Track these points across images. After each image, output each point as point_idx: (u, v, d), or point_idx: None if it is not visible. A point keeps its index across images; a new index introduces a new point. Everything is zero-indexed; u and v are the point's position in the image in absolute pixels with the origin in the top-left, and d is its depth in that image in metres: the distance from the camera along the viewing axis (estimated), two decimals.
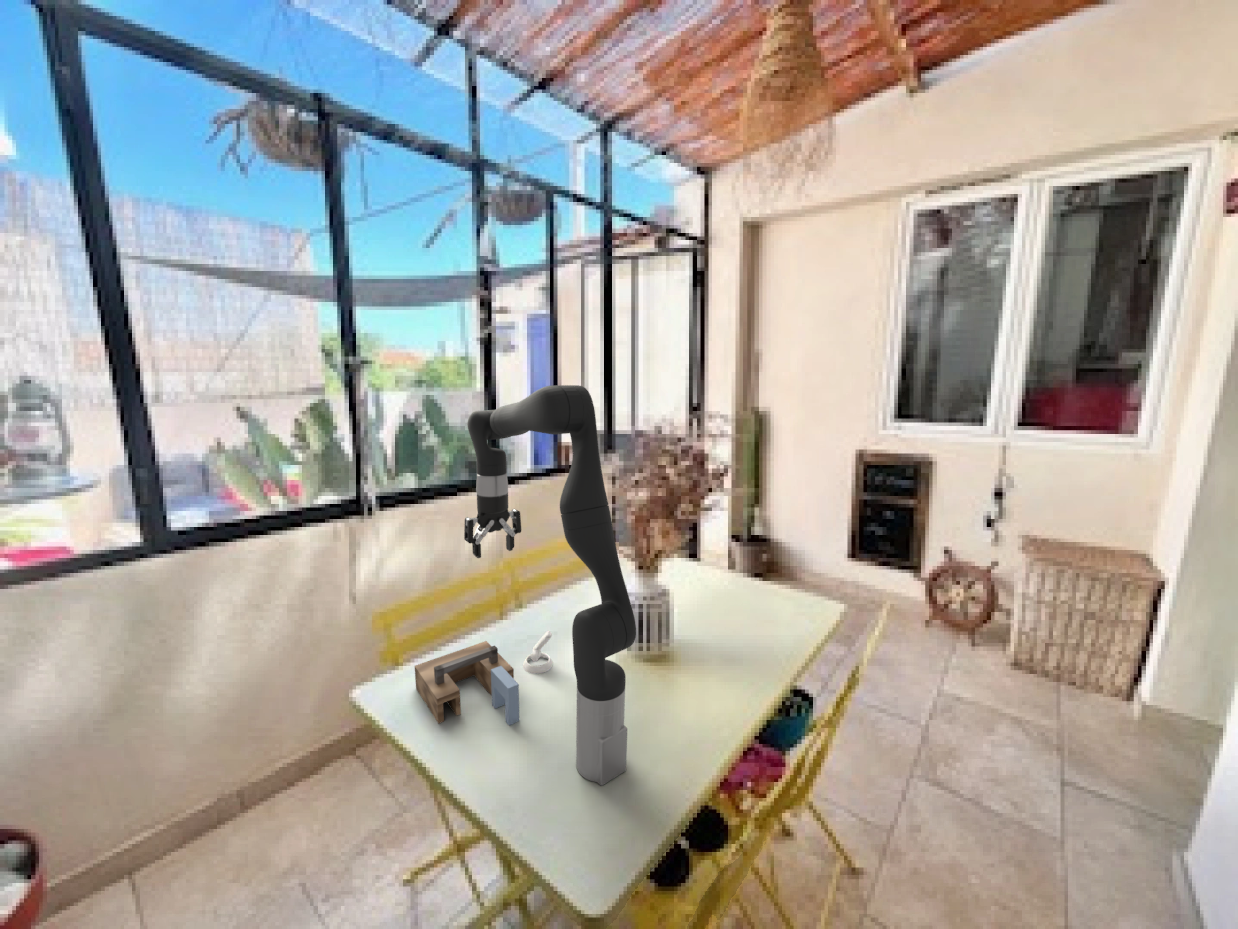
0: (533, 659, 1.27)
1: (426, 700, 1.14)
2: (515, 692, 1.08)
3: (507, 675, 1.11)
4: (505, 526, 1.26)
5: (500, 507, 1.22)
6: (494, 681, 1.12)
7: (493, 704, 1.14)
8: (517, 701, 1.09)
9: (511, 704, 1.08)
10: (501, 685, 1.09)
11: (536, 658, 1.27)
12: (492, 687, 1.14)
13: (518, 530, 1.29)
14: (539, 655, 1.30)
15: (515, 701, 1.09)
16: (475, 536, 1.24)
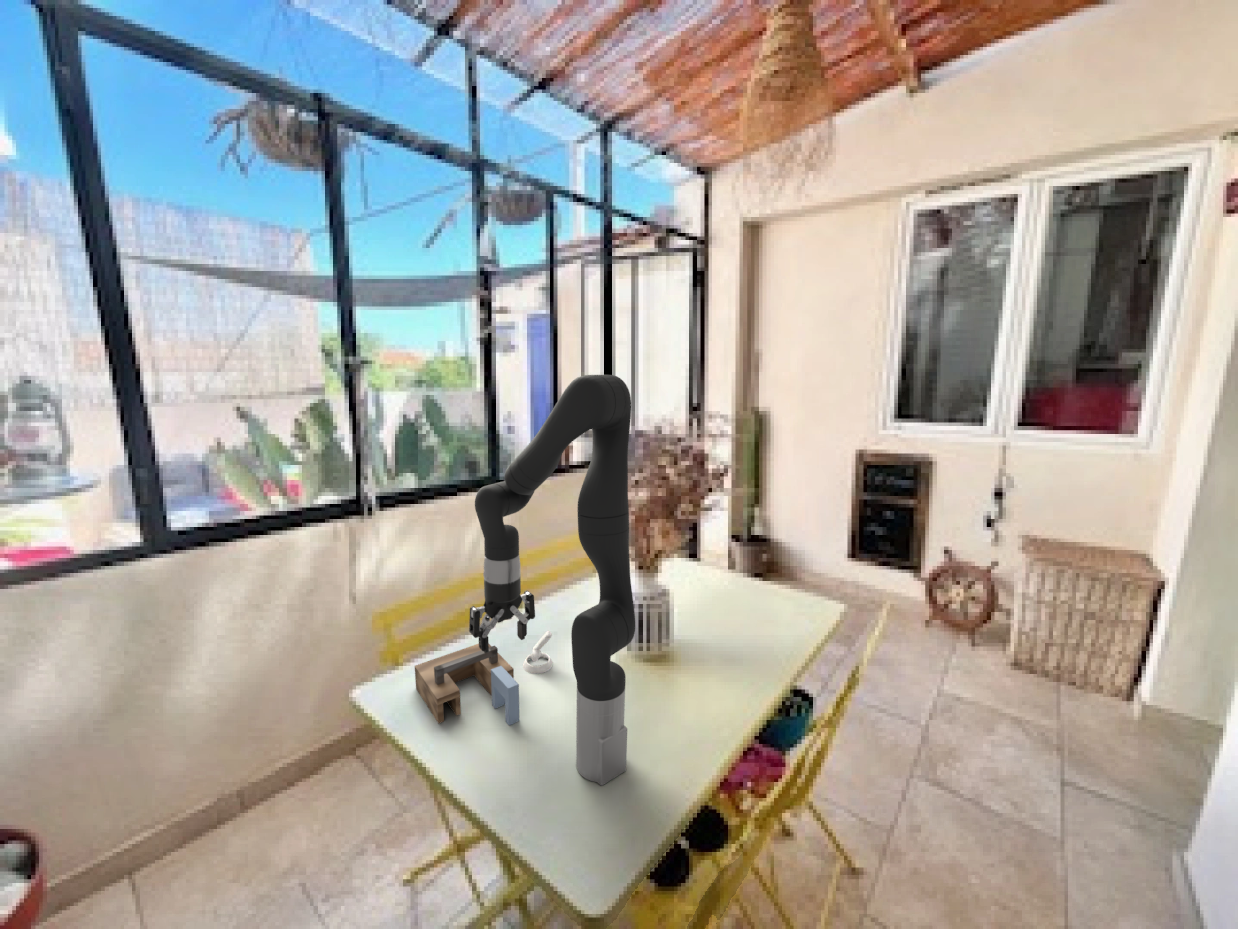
0: (533, 659, 1.27)
1: (426, 700, 1.14)
2: (515, 692, 1.08)
3: (507, 675, 1.11)
4: (517, 614, 1.08)
5: (511, 595, 1.04)
6: (495, 681, 1.12)
7: (493, 704, 1.14)
8: (517, 701, 1.09)
9: (511, 704, 1.08)
10: (501, 685, 1.09)
11: (536, 658, 1.27)
12: (492, 687, 1.14)
13: (531, 616, 1.11)
14: (539, 655, 1.30)
15: (515, 701, 1.09)
16: (482, 627, 1.06)
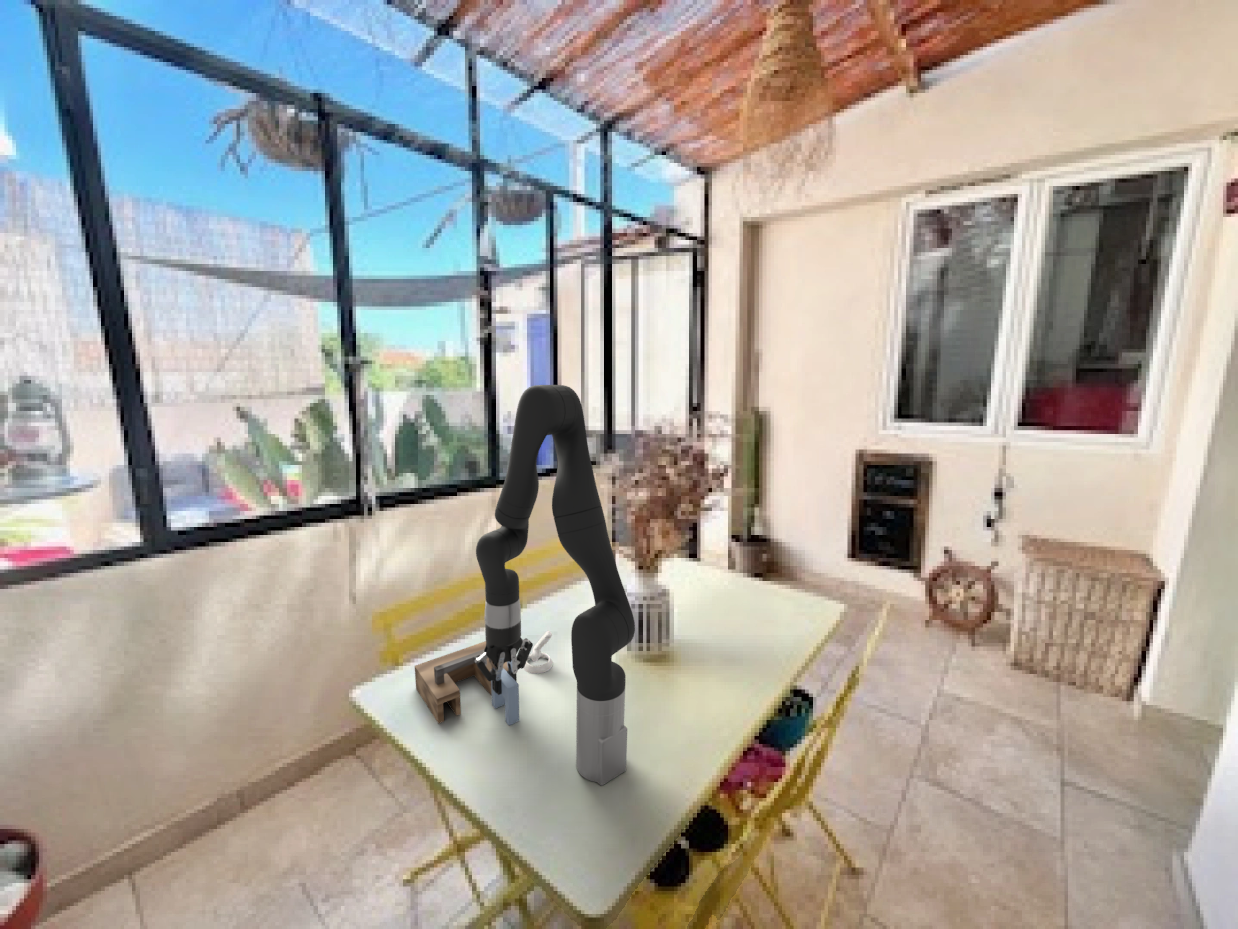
0: (533, 659, 1.27)
1: (426, 700, 1.14)
2: (515, 692, 1.08)
3: (507, 675, 1.11)
4: (513, 659, 1.09)
5: (512, 639, 1.06)
6: None
7: (493, 704, 1.14)
8: (517, 701, 1.09)
9: (511, 704, 1.08)
10: None
11: (536, 658, 1.27)
12: None
13: (521, 665, 1.12)
14: (539, 655, 1.30)
15: (515, 701, 1.09)
16: (493, 670, 1.10)
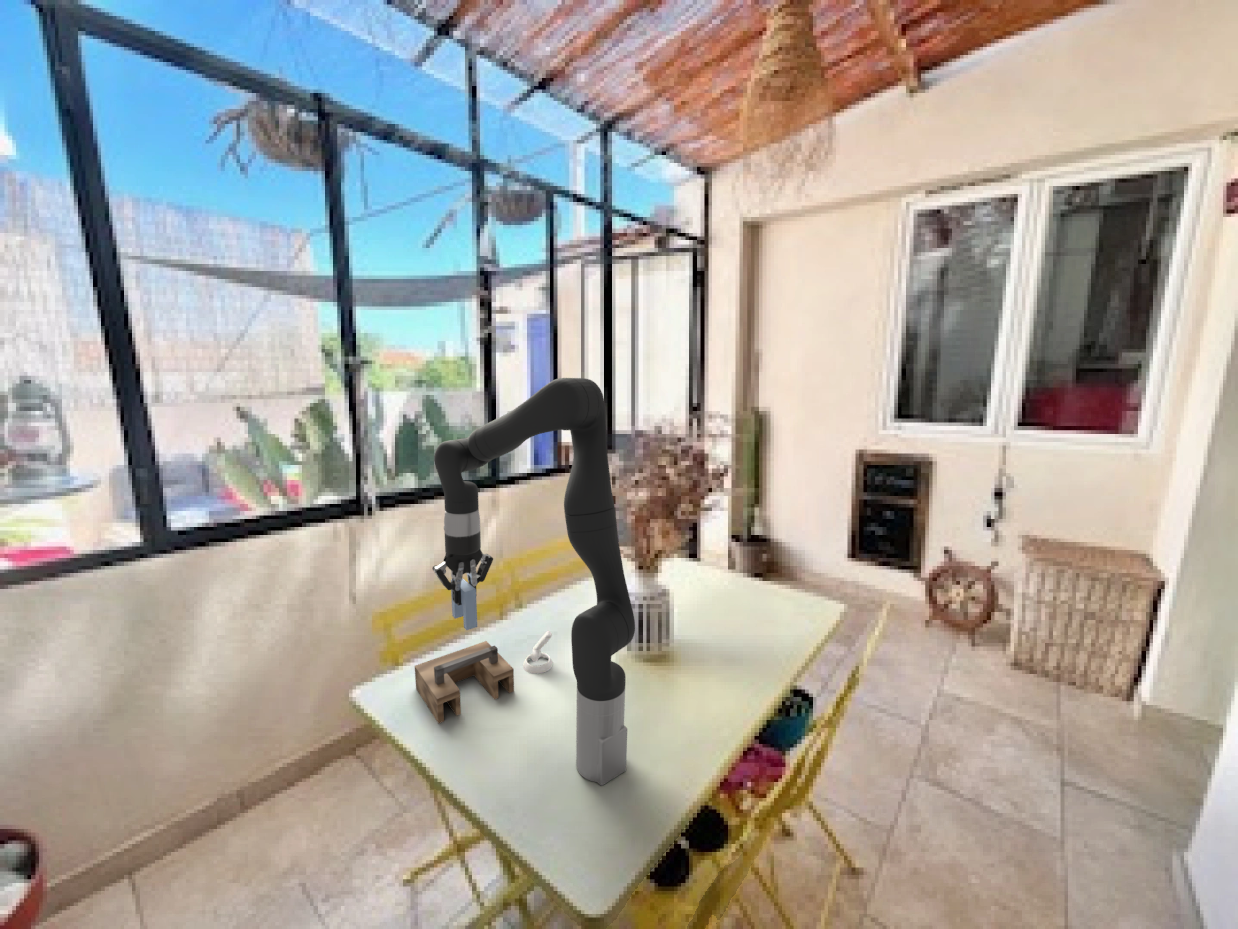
0: (533, 659, 1.27)
1: (426, 700, 1.14)
2: (472, 597, 1.11)
3: (466, 583, 1.14)
4: (472, 570, 1.12)
5: (470, 548, 1.08)
6: None
7: (453, 614, 1.17)
8: (475, 606, 1.12)
9: (468, 609, 1.11)
10: None
11: (536, 658, 1.27)
12: None
13: (481, 578, 1.14)
14: (539, 655, 1.30)
15: (473, 606, 1.11)
16: (453, 581, 1.12)
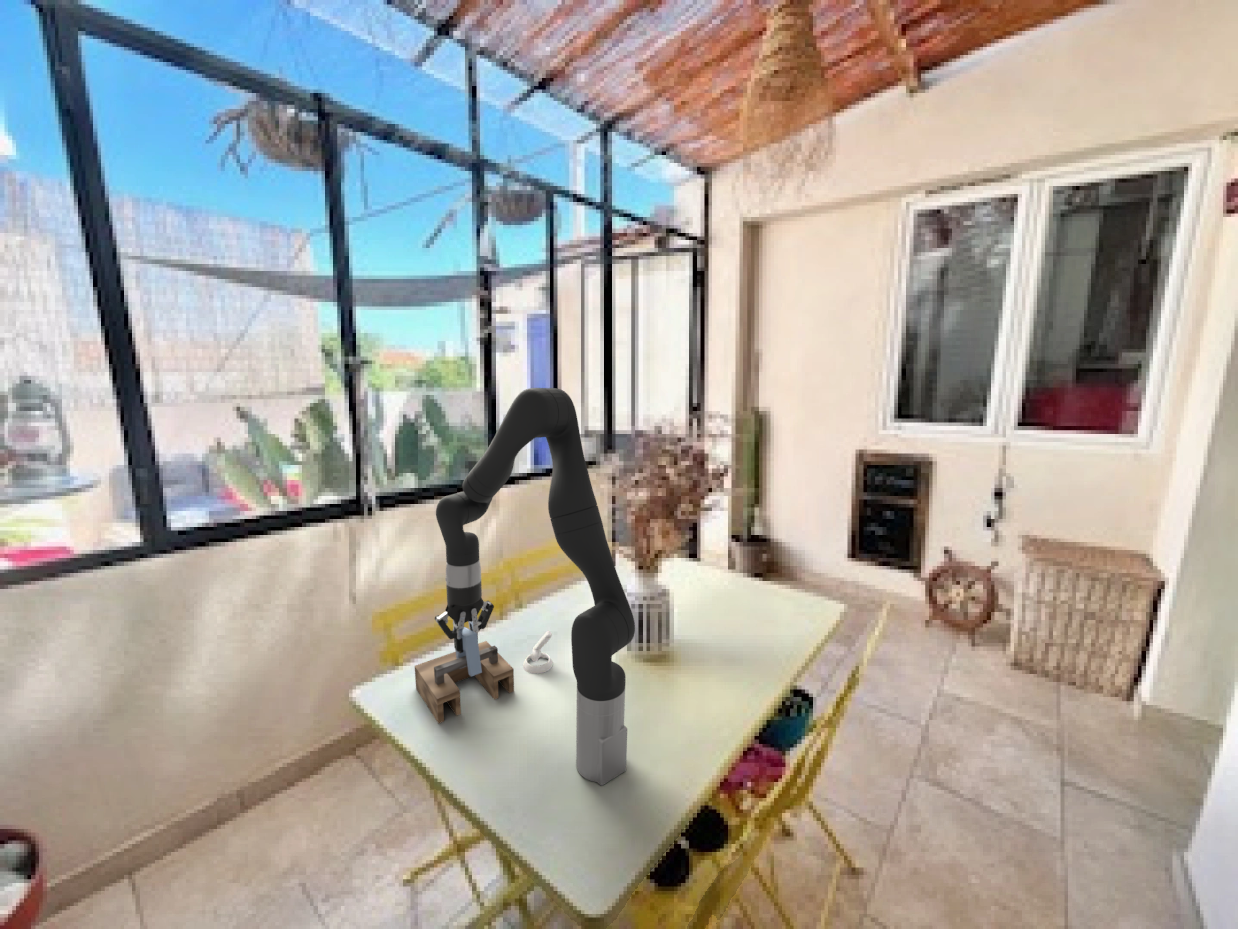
0: (533, 659, 1.27)
1: (426, 700, 1.14)
2: (474, 641, 1.13)
3: (467, 630, 1.16)
4: (474, 619, 1.14)
5: (471, 598, 1.10)
6: None
7: None
8: (477, 651, 1.13)
9: (471, 654, 1.12)
10: None
11: (536, 658, 1.27)
12: None
13: (482, 625, 1.16)
14: (539, 655, 1.30)
15: (475, 651, 1.13)
16: (455, 630, 1.14)
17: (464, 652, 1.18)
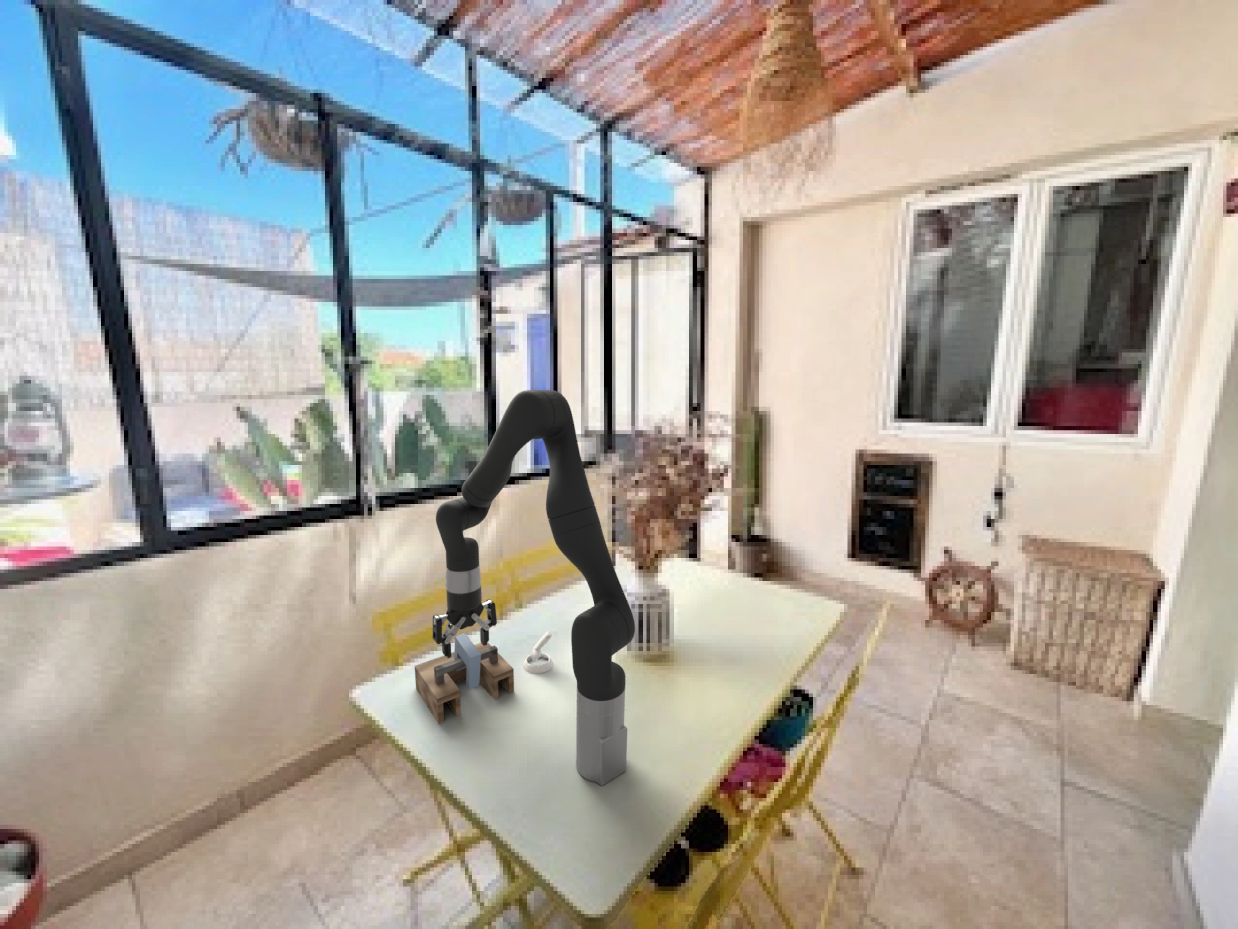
0: (533, 659, 1.27)
1: (426, 700, 1.14)
2: (477, 661, 1.13)
3: (470, 644, 1.16)
4: (478, 621, 1.15)
5: (471, 604, 1.11)
6: (458, 647, 1.17)
7: None
8: (478, 669, 1.14)
9: (472, 672, 1.13)
10: (464, 653, 1.14)
11: (536, 658, 1.27)
12: (455, 652, 1.18)
13: (493, 623, 1.18)
14: (539, 655, 1.30)
15: (476, 669, 1.14)
16: (445, 634, 1.13)
17: None
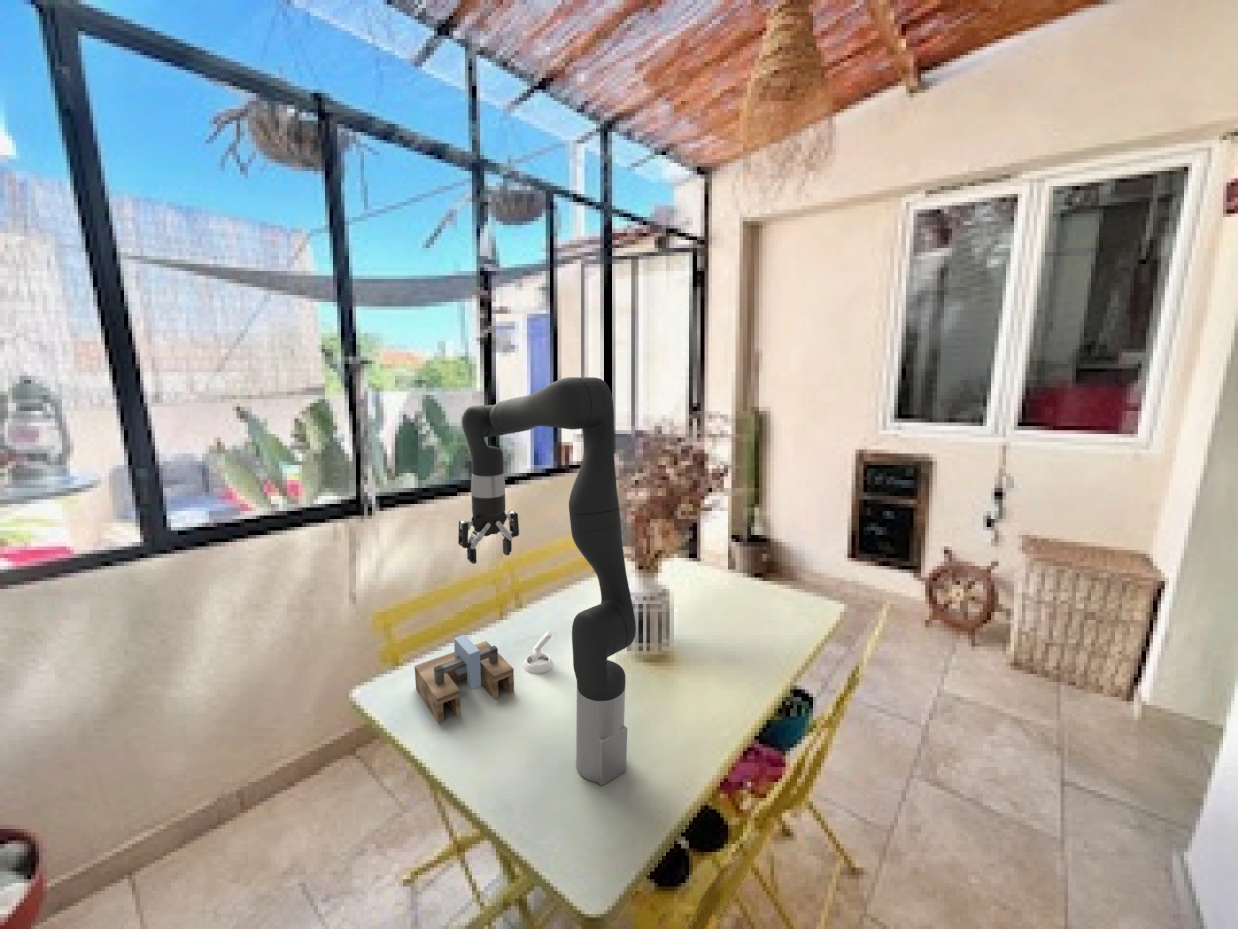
0: (533, 659, 1.27)
1: (426, 700, 1.14)
2: (476, 658, 1.13)
3: (469, 643, 1.16)
4: (502, 529, 1.18)
5: (496, 509, 1.14)
6: (457, 649, 1.17)
7: (456, 671, 1.19)
8: (478, 667, 1.14)
9: (472, 670, 1.13)
10: (463, 652, 1.14)
11: (536, 658, 1.27)
12: (455, 655, 1.18)
13: (516, 533, 1.21)
14: (539, 655, 1.30)
15: (476, 667, 1.14)
16: (470, 540, 1.16)
17: None
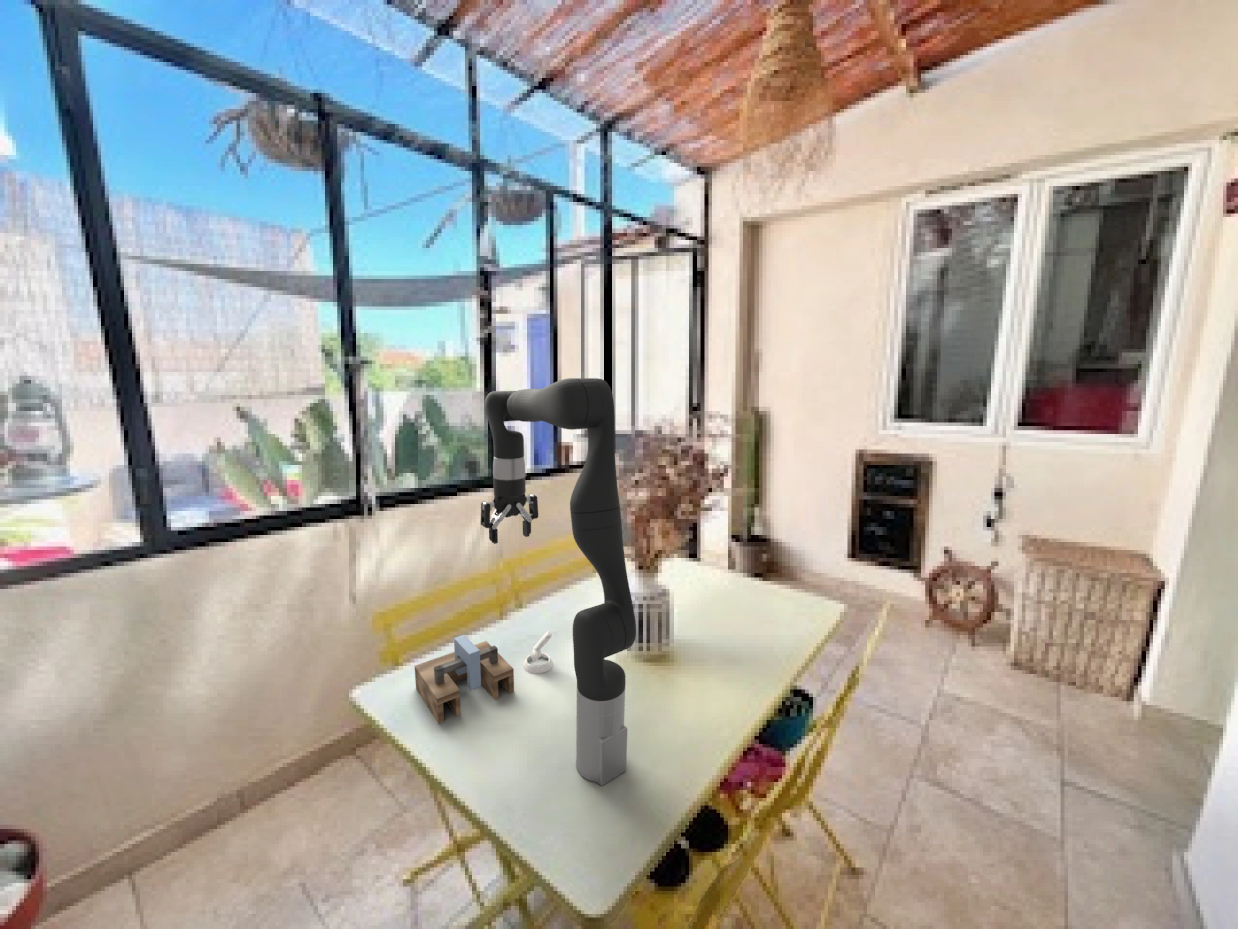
0: (533, 659, 1.27)
1: (426, 700, 1.14)
2: (476, 658, 1.13)
3: (469, 643, 1.16)
4: (522, 511, 1.22)
5: (517, 491, 1.18)
6: (457, 649, 1.17)
7: (456, 671, 1.19)
8: (478, 667, 1.14)
9: (472, 670, 1.13)
10: (463, 651, 1.14)
11: (536, 658, 1.27)
12: (455, 655, 1.18)
13: (535, 515, 1.26)
14: (539, 655, 1.30)
15: (476, 667, 1.14)
16: (491, 521, 1.20)
17: None
